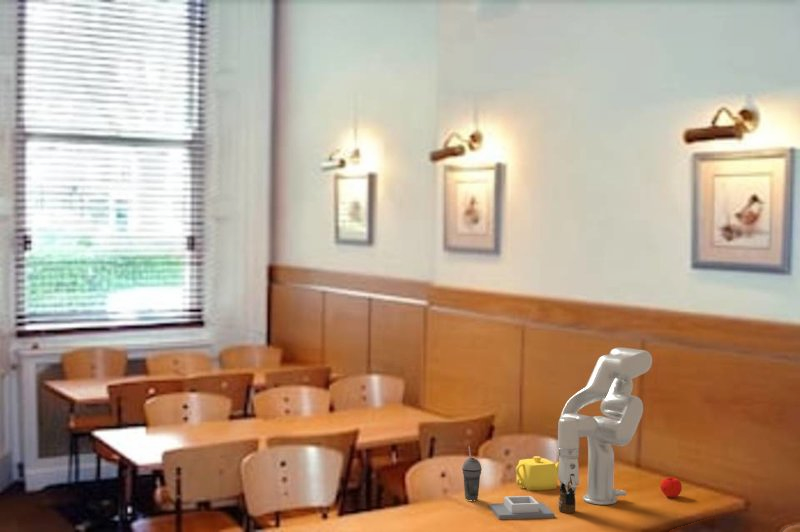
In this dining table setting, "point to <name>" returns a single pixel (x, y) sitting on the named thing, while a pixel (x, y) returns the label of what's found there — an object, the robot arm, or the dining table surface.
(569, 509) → the utensil holder
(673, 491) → the apple
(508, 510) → the dock
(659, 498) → the dining table surface
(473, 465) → the beverage cup
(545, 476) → the teapot
